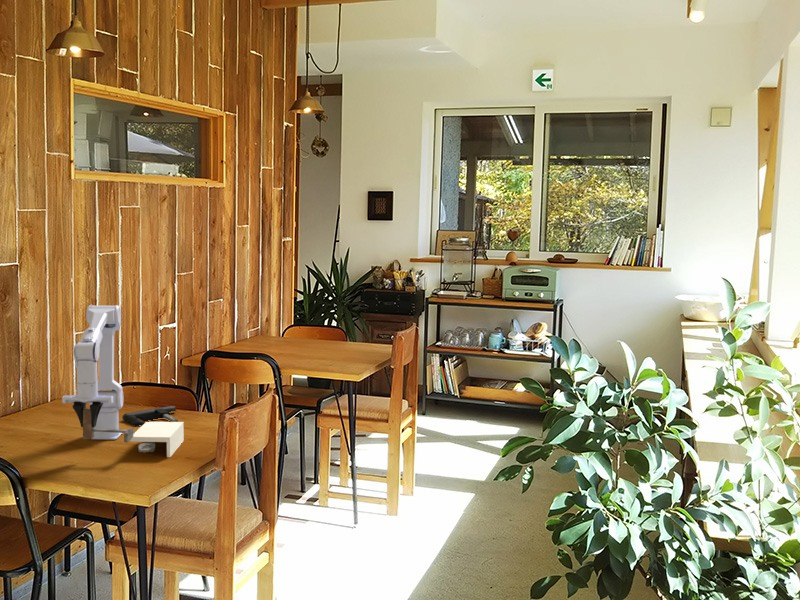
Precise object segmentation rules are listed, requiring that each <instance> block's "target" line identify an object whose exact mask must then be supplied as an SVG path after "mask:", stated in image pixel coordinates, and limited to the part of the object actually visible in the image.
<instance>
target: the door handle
mask: <svg viewBox="0 0 800 600" xmlns="http://www.w3.org/2000/svg"><path fill="white" fill-rule="evenodd" d="M171 411H176V412H177V409H176V406H175V405H169V406H162V407H155V408H149V409H143V410H138V411H133V412H125V413H124V414H123V415H122V420H123V422H125V421H127V423H129V424H130V425H132V426H134V425H135V426H134V427H136V426H139V425H143V424H145V423H146V422H144V421H148V420H153V419H158V418H166V419H168V420H170V421H173V422H176V421H178V422H179V419H178V418H176V417H174V416H173V415H171V414H169V412H171ZM139 427H140V426H139Z"/></svg>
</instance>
